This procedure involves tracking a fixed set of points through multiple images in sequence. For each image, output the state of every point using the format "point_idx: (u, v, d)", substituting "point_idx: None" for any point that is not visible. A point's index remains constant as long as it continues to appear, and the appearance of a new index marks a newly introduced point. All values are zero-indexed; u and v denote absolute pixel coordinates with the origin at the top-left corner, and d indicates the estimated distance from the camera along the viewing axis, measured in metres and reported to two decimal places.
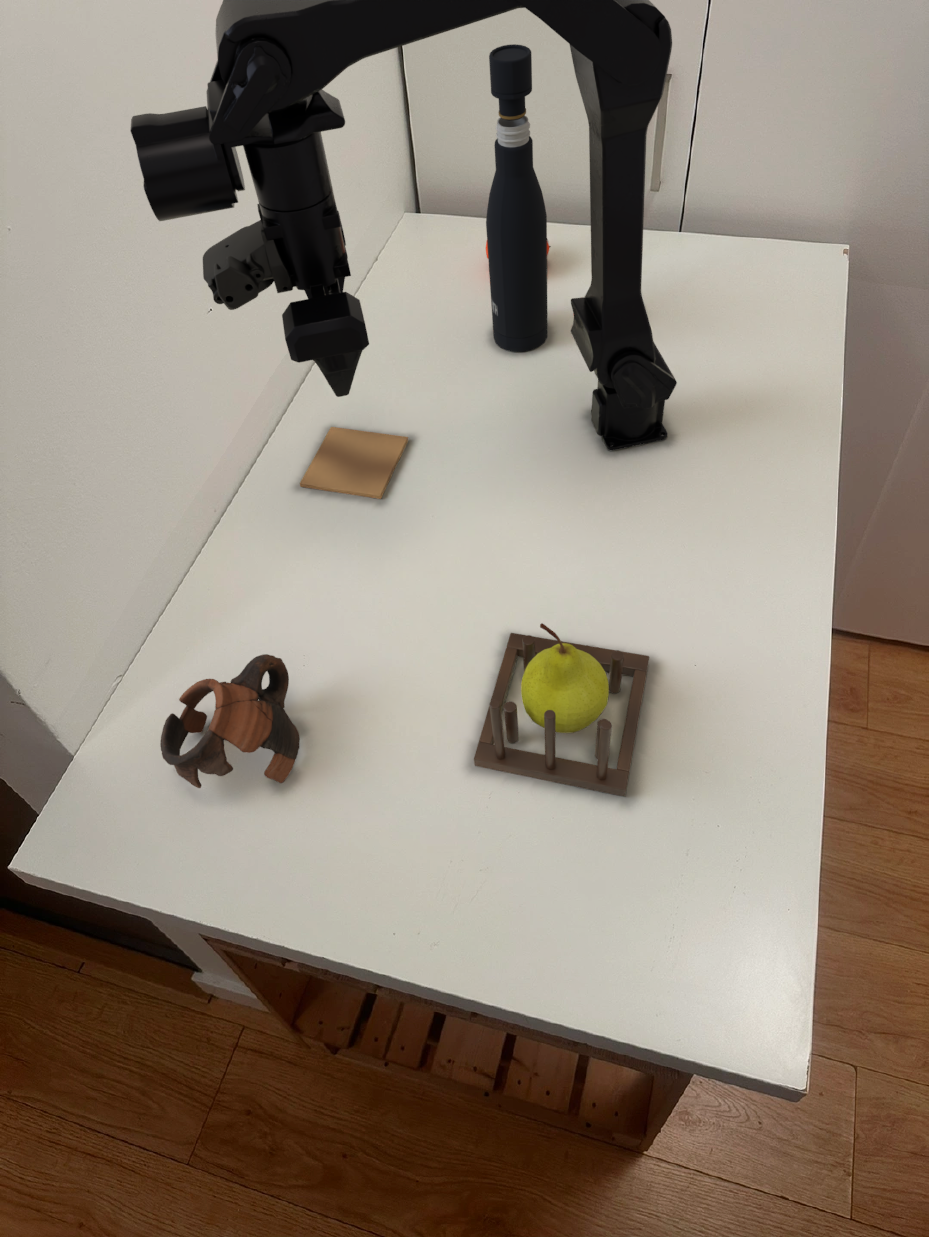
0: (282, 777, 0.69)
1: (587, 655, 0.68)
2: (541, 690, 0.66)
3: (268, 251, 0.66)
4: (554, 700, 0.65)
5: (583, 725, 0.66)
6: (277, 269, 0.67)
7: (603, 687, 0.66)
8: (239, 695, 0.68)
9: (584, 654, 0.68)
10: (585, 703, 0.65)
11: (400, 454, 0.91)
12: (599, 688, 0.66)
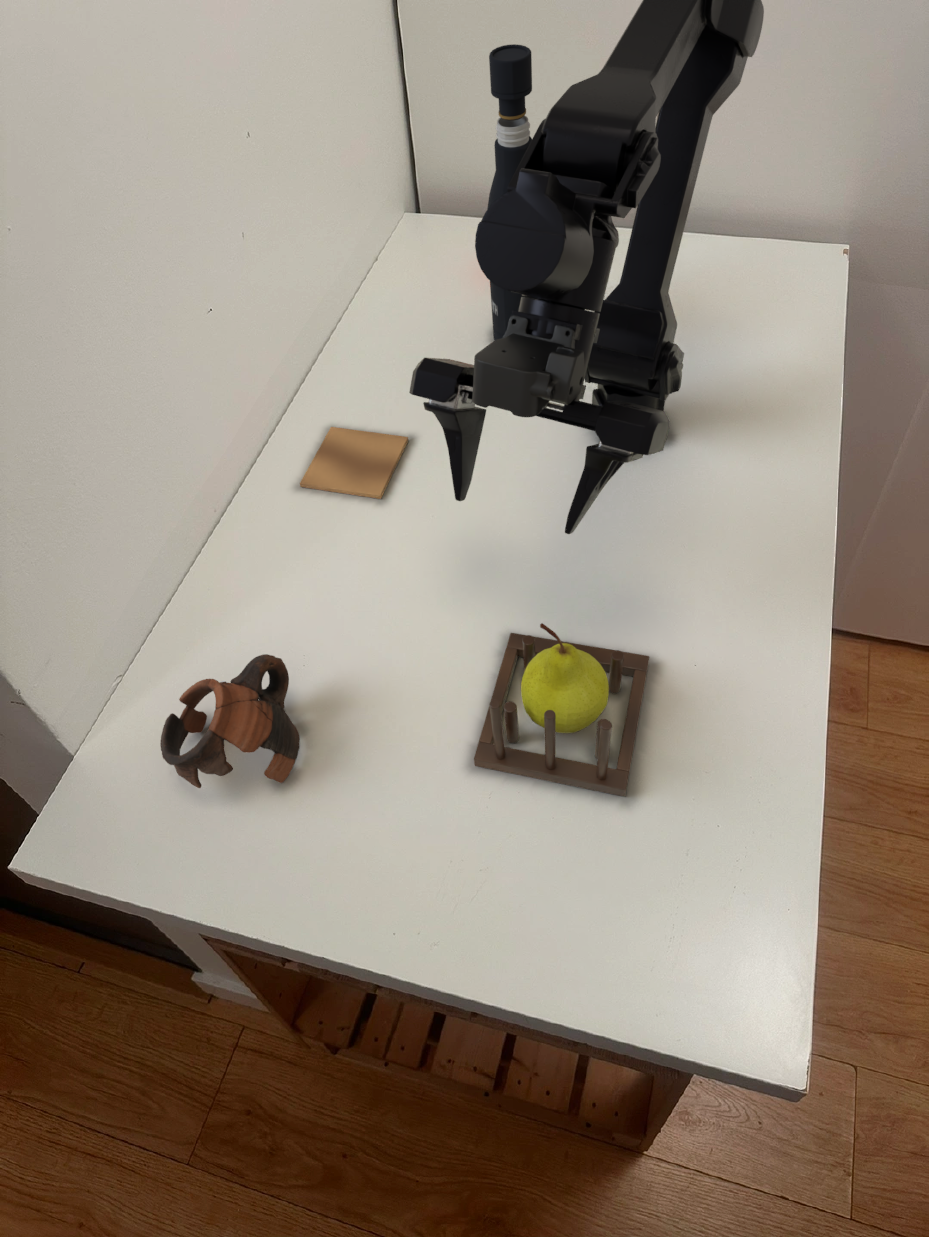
0: (282, 777, 0.69)
1: (587, 655, 0.68)
2: (541, 690, 0.66)
3: None
4: (554, 700, 0.65)
5: (583, 725, 0.66)
6: None
7: (603, 687, 0.66)
8: (239, 695, 0.68)
9: (584, 654, 0.68)
10: (585, 703, 0.65)
11: (400, 454, 0.91)
12: (599, 688, 0.66)
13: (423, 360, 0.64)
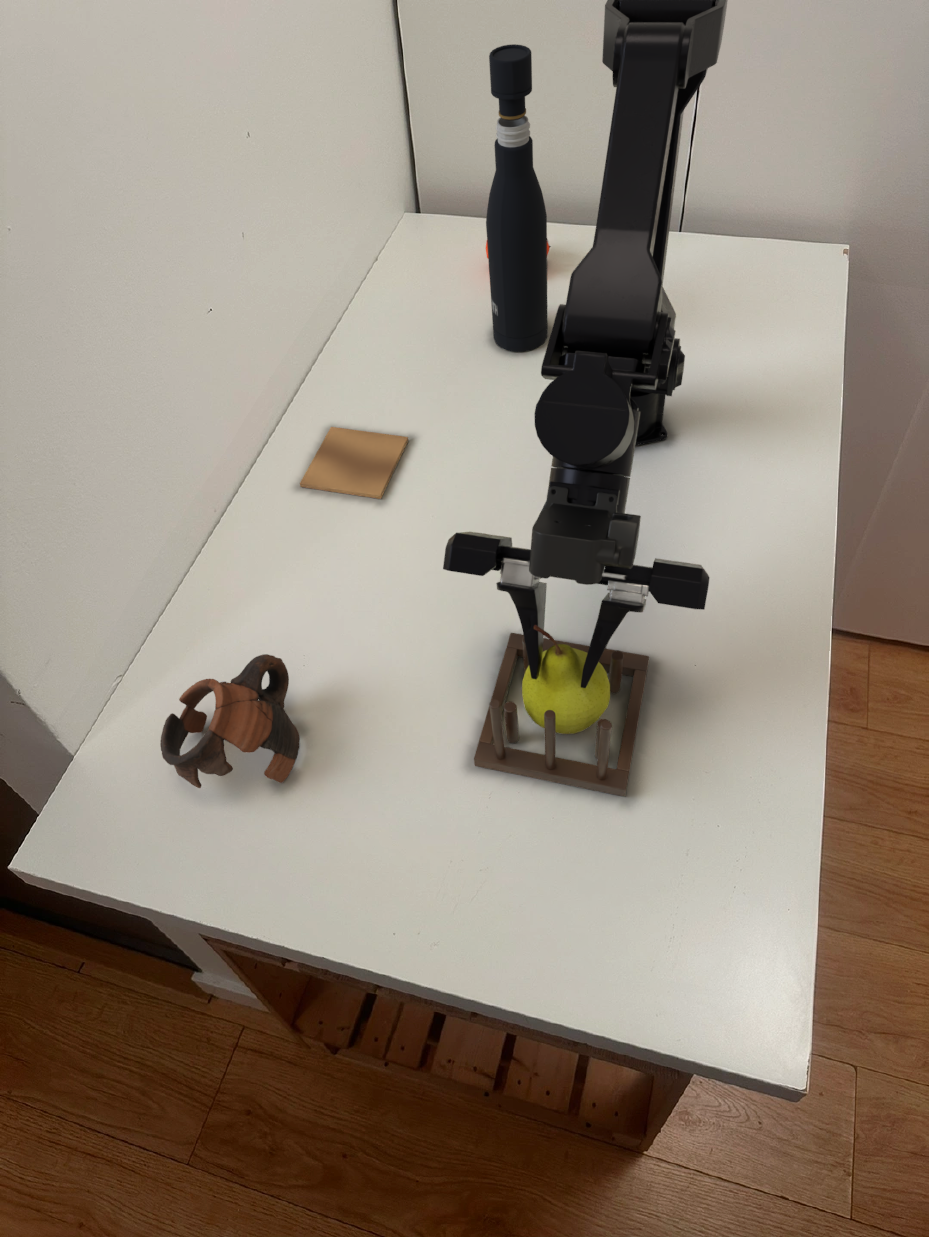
0: (282, 777, 0.69)
1: None
2: (540, 691, 0.66)
3: None
4: (552, 701, 0.65)
5: (584, 726, 0.66)
6: None
7: (602, 687, 0.66)
8: (239, 695, 0.68)
9: (584, 654, 0.67)
10: (584, 703, 0.65)
11: (400, 454, 0.91)
12: (598, 688, 0.66)
13: (455, 535, 0.63)
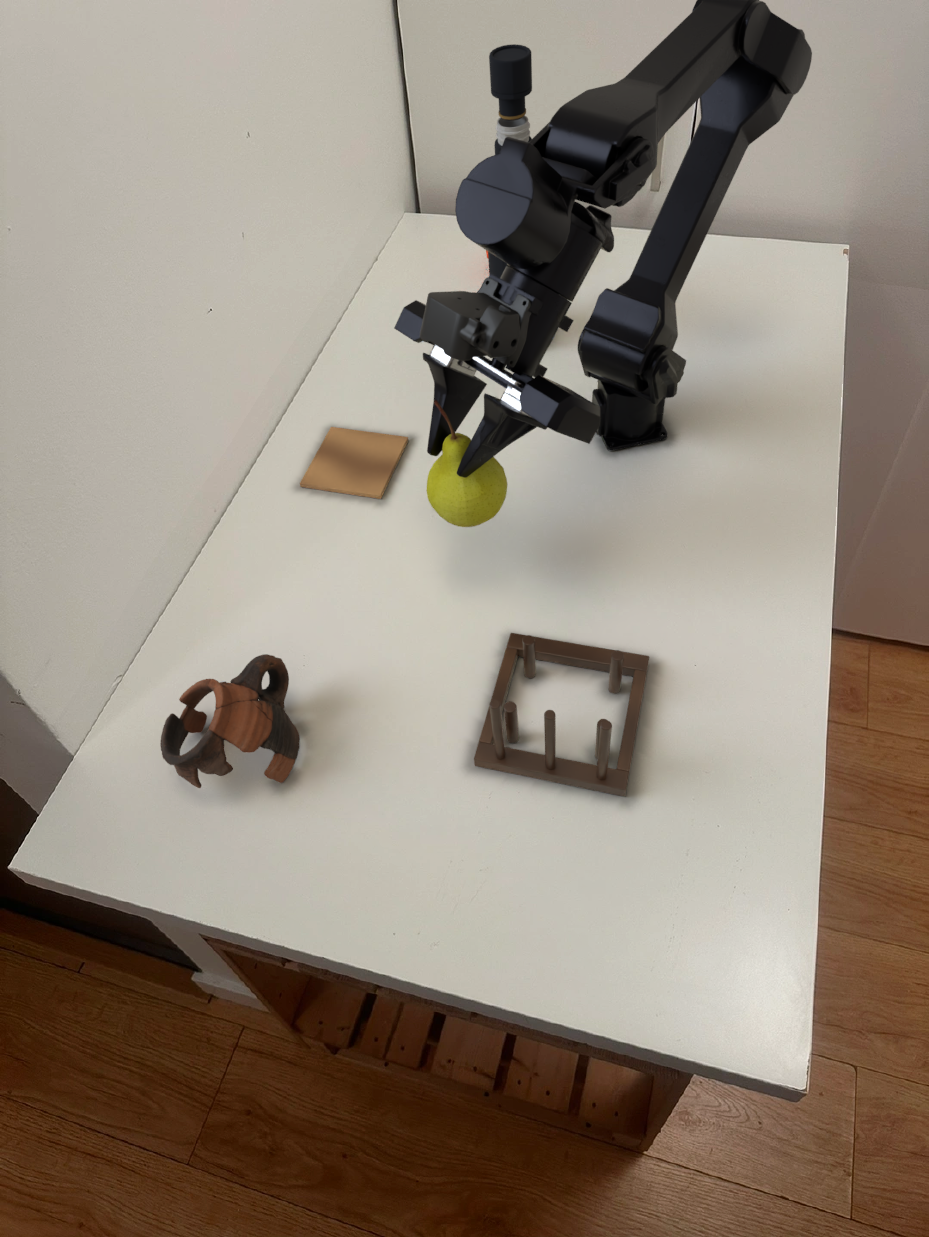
0: (282, 777, 0.69)
1: (493, 462, 0.72)
2: (434, 470, 0.72)
3: (523, 320, 0.63)
4: (437, 481, 0.72)
5: (457, 516, 0.72)
6: (520, 341, 0.64)
7: (484, 489, 0.71)
8: (239, 695, 0.68)
9: (490, 460, 0.72)
10: (459, 493, 0.71)
11: (400, 454, 0.91)
12: (479, 487, 0.71)
13: None
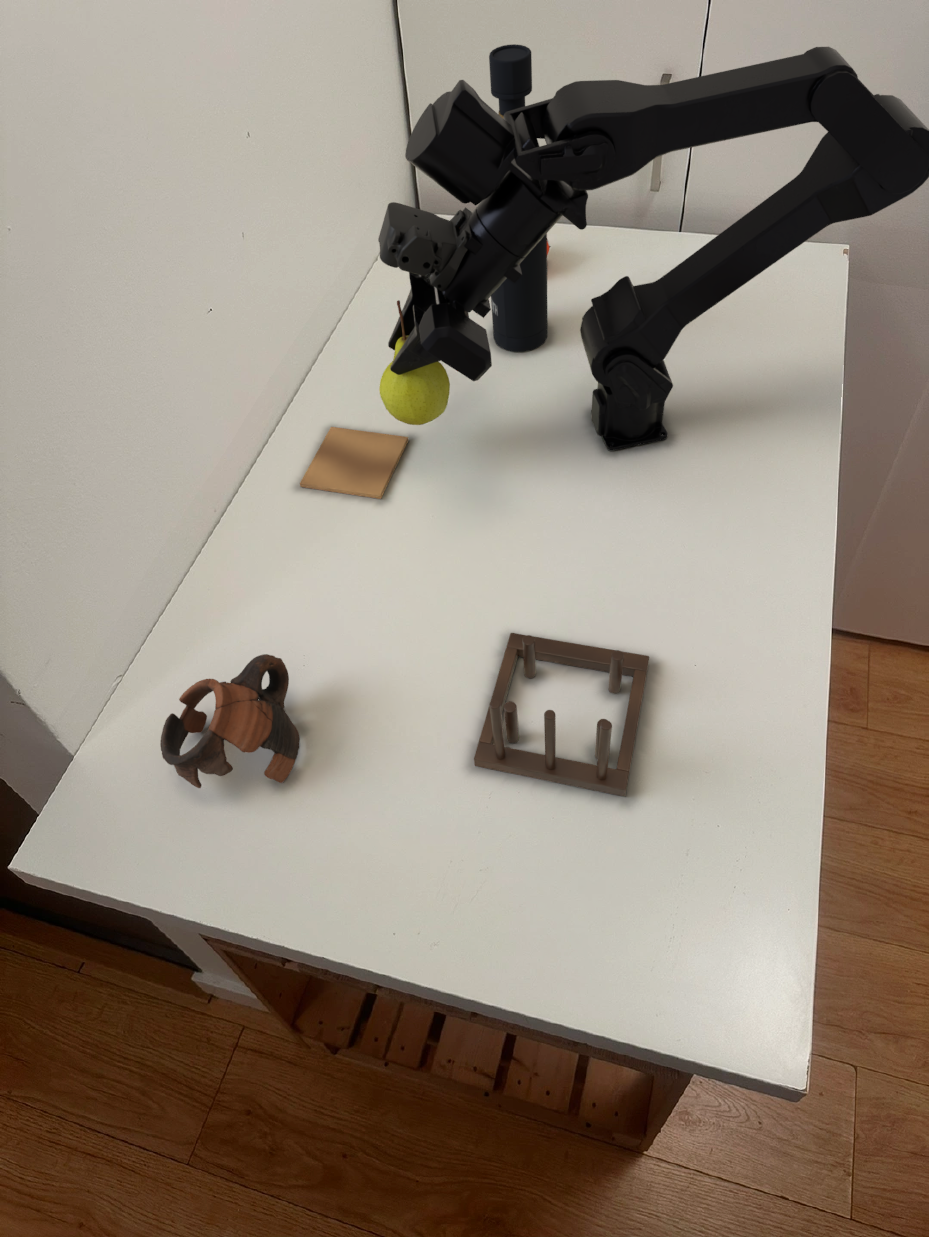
0: (282, 777, 0.69)
1: (434, 375, 0.82)
2: (391, 362, 0.84)
3: (456, 253, 0.71)
4: (386, 371, 0.83)
5: (387, 406, 0.83)
6: (450, 270, 0.72)
7: (410, 392, 0.81)
8: (239, 695, 0.68)
9: (433, 372, 0.82)
10: (390, 386, 0.82)
11: (400, 454, 0.91)
12: (406, 388, 0.81)
13: None
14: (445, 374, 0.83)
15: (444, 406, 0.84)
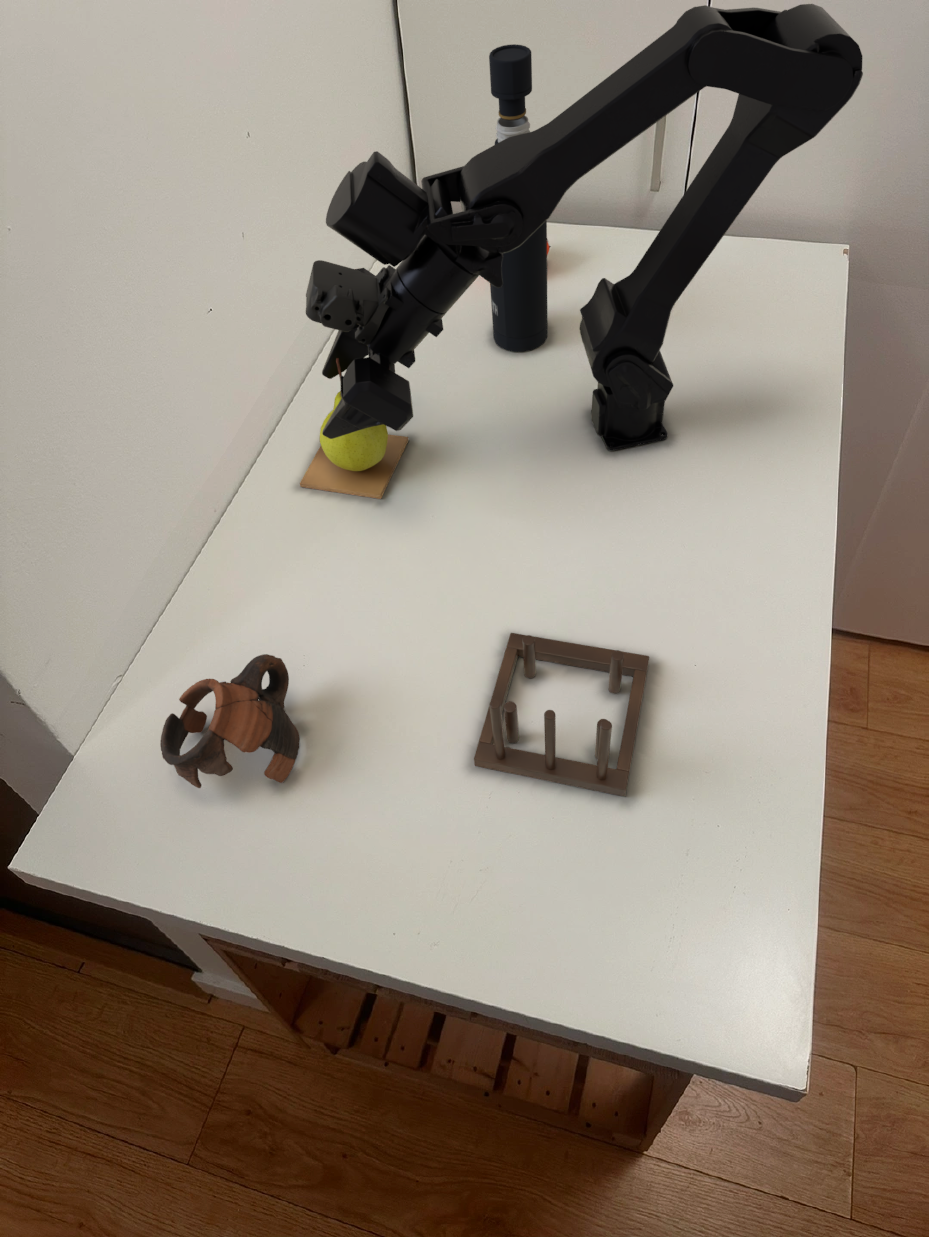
0: (282, 777, 0.69)
1: (372, 428, 0.85)
2: (331, 411, 0.87)
3: (378, 310, 0.75)
4: (325, 420, 0.86)
5: (326, 454, 0.87)
6: (372, 325, 0.75)
7: (348, 445, 0.85)
8: (239, 695, 0.68)
9: None
10: None
11: (400, 454, 0.91)
12: (344, 441, 0.85)
13: (360, 268, 0.83)
14: (383, 425, 0.87)
15: (382, 455, 0.88)
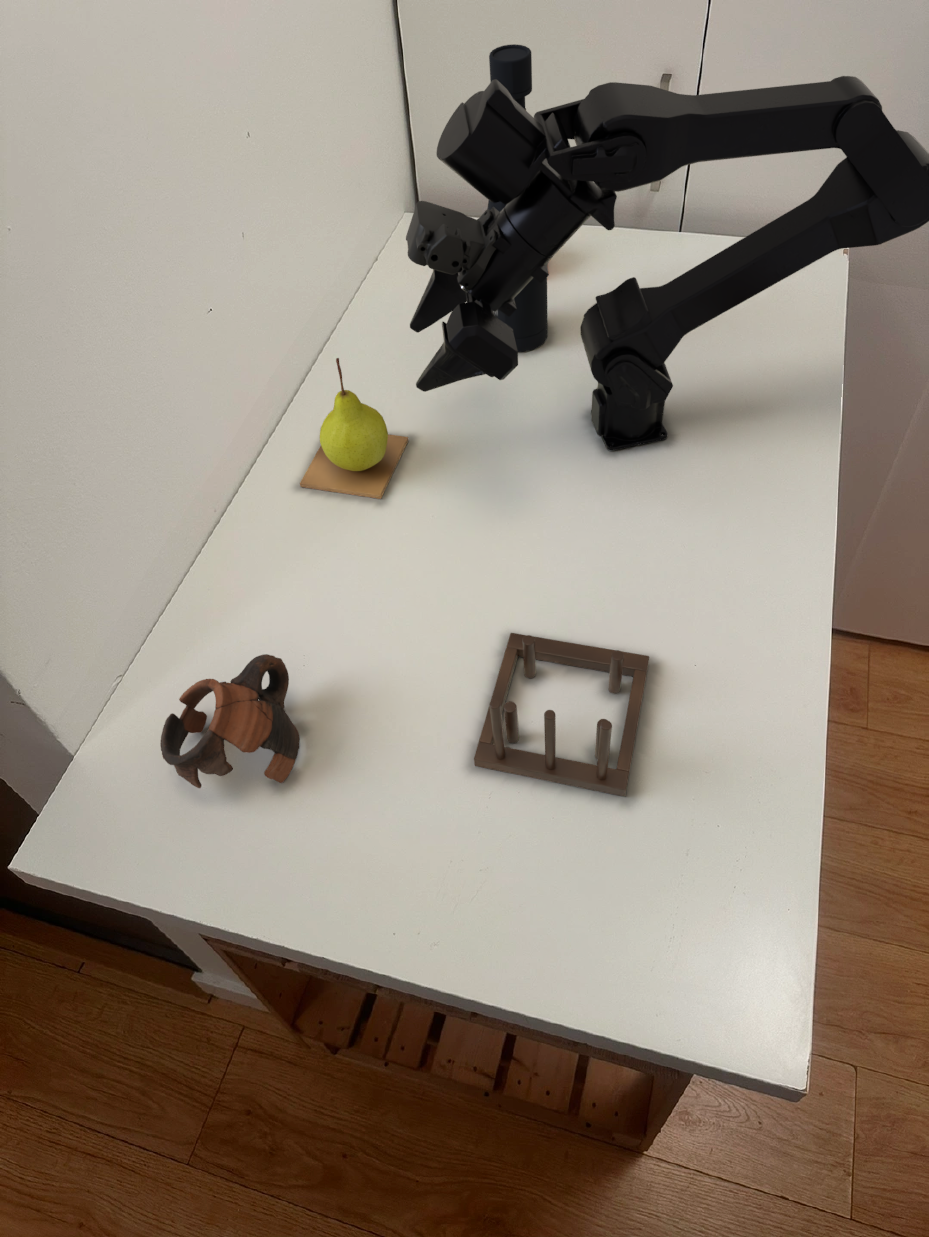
0: (282, 777, 0.69)
1: (372, 428, 0.85)
2: (331, 411, 0.87)
3: (485, 252, 0.72)
4: (325, 420, 0.86)
5: (326, 454, 0.87)
6: (477, 269, 0.72)
7: (348, 445, 0.85)
8: (239, 695, 0.68)
9: (371, 425, 0.85)
10: (329, 437, 0.85)
11: (400, 454, 0.91)
12: (344, 441, 0.85)
13: None
14: (383, 425, 0.87)
15: (382, 455, 0.88)
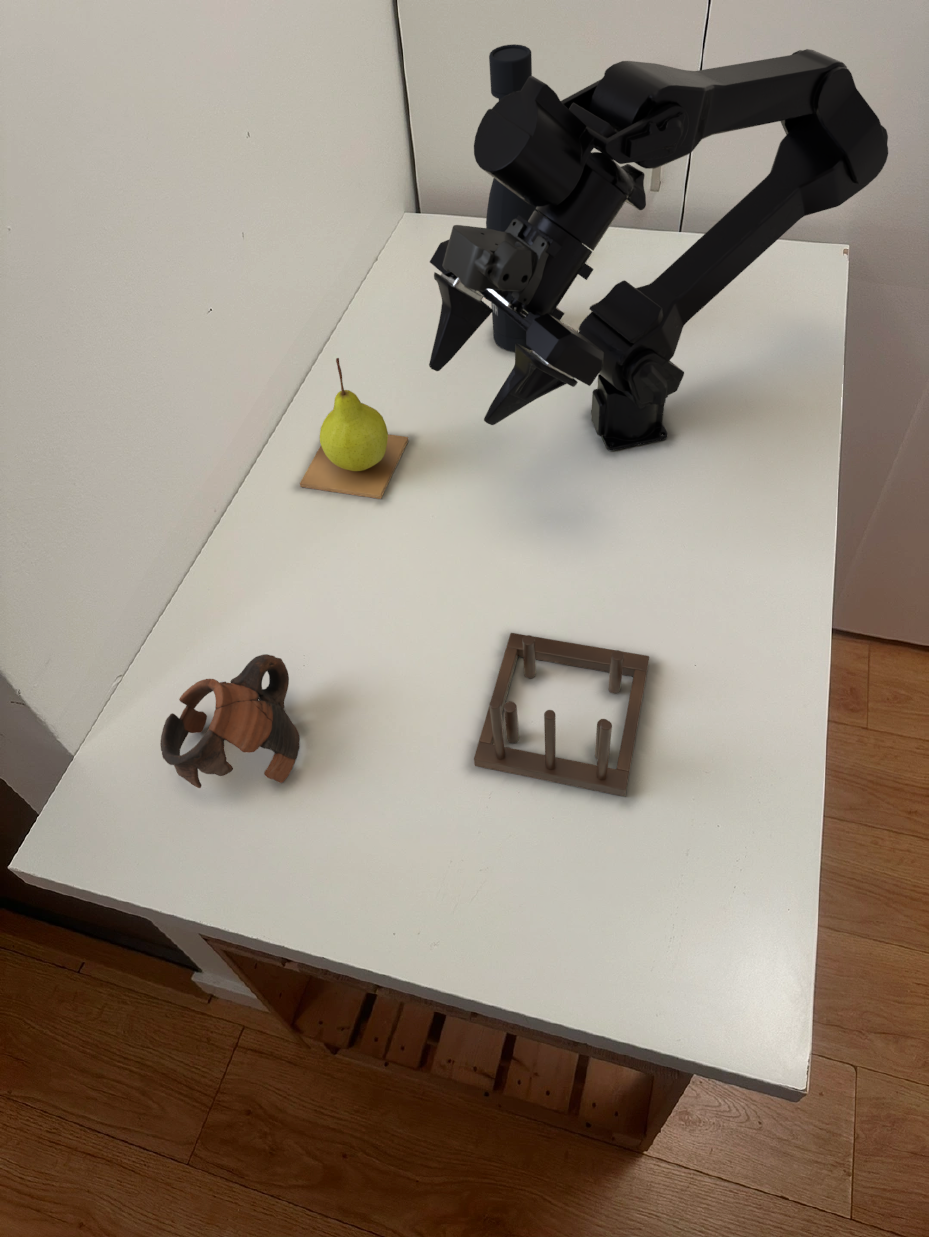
0: (282, 777, 0.69)
1: (372, 428, 0.85)
2: (331, 411, 0.87)
3: (540, 260, 0.67)
4: (325, 420, 0.86)
5: (326, 454, 0.87)
6: (535, 280, 0.68)
7: (348, 445, 0.85)
8: (239, 695, 0.68)
9: (371, 425, 0.85)
10: (329, 437, 0.85)
11: (400, 454, 0.91)
12: (344, 441, 0.85)
13: None
14: (383, 425, 0.87)
15: (382, 455, 0.88)
